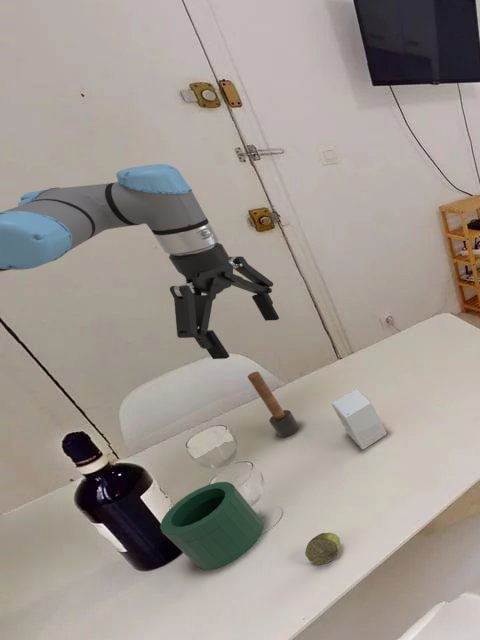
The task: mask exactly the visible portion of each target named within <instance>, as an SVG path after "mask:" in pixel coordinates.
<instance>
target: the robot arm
mask: <svg viewBox="0 0 480 640" xmlns="http://www.w3.org/2000/svg"><path fill="white" fill-rule="evenodd" d="M115 177H116V179H117V181H115V182H108V183H99V184H89V185H79V186H78V185H77V186H65V187H50V188H47V189H42V190H36V191H29V192H27V193H24V194H23V195H22V196H21V197H20V201H19V202H18V203H17V206H15V207H11V208H9V209H6V210H3V211H0V273H3V272H6V271H10V270H13V271H14V270H15V271H16V270H17V271H19V270H30V269H36V268H38V267H41V266H44V265H46V264H48V263H51V262H54V261H57V260H59V259H60V258H62V257H63V256H65V255H66V254H67V253H69V251H72V250H73V249H75V248H76V247H78V246H80V245H82V244H83V243H85V242H86V241H88V240H90V239H92V238H94V237H96V236H97V235H99V234H101V233H102V232H104V231H107V230H112V229H119V228H125V227H132V226H140V225H147V227H148V228H149V229H150V231H151V232H152V234H153V235H154V237H155V239H156V240H157V242H158V244H159V245H160V247H161V248H162V250H163V252H164V253H165V254H168V255H169V256H168V259H169V260H170V262H171V264H172V265H173V267H174V268H175V270H176V271H177V272H178V273H179V274H180V275H182V276H183V277H184V278H185V283H182V284H179V285H171V286H170V287H169V291H170V294H171V295H172V297H173V301H174V313H175V314H174V315H175V325H176V336H177V338H179V339H190V338H193V339H194V340H195V341H196V343H197V344H198V345H199V347H200V348H201V349H203V350H206V351H207V353H208V354H209V356H210V357H211V358H212V360H225V359H226V360H227V359H228V358H230V354H229V353H228V351H227V349H226V348H225V347H224V345H223V343H222V342H221V340H220V338H219V337H218V336H217V334H216V333H215V331H214V330H213V329H211V330H210V329H209V325H210V321H211V320H210V318H211V313H212V307H213V302H214V300H216V298H217V295H218V294H220V293H222V292H223V291H224V290H226V289H229V288H231V287H232V286H233V287H235V288H238V289H241V290H244V291H247V292H249V293H251V294H253V295H252V296H251V298H252V300H253V302H254V304H255V306H256V307H257V309H258V311H259V313H260V314H261V316H262V318H263V319H264V321H266V322H269V321H278V320H279V319H280V317H279V314H278V313H277V311H276V309H275V308H274V301H273V300H272V298H271V295H270V294H271V293H272V292H273V289H272V287H273V286H274V282H273V281H271V280H270V279H269V278H268V277H266V276H265V275H264V274H262V273H261V272H260V271H258V270H257V269H255V268H254V267H253V266H252V265H250V264H249V263H248V262H247V260H246V259H245V257H244V256H238V255H237V256H229V254H228V252H227V250H226V249H225V247H224V245H223V244H222V243H220V242H219V240H220V239H219V237H218V235H217V234H216V232H215V229H214V228H213V226H212V225H211V223H210V221H209V220H208V218H207V216H206V214H205V213H204V211H203V209H202V207H201V205H200V203H199V201H198V199H197V198H196V196H195V194H194V192H193V189H192V187H191V186H190V185H189V184H188V182H187V181H186V180H185V178H184V176H183V175H182V174H181V172H180V171H179V169H178V168H177V167H175V166H174V165H170V164H163V163H162V164H161V163H159V164H147V165H142V166H133V167H128V168H124V169H123V168H122V169H120V170H118V171H117V172H116V173H115ZM234 270H235V271H236V272H237V273H239V274H240V275H242V276H243V277H242V276H240V275H238V274H235V273H234Z"/></svg>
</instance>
